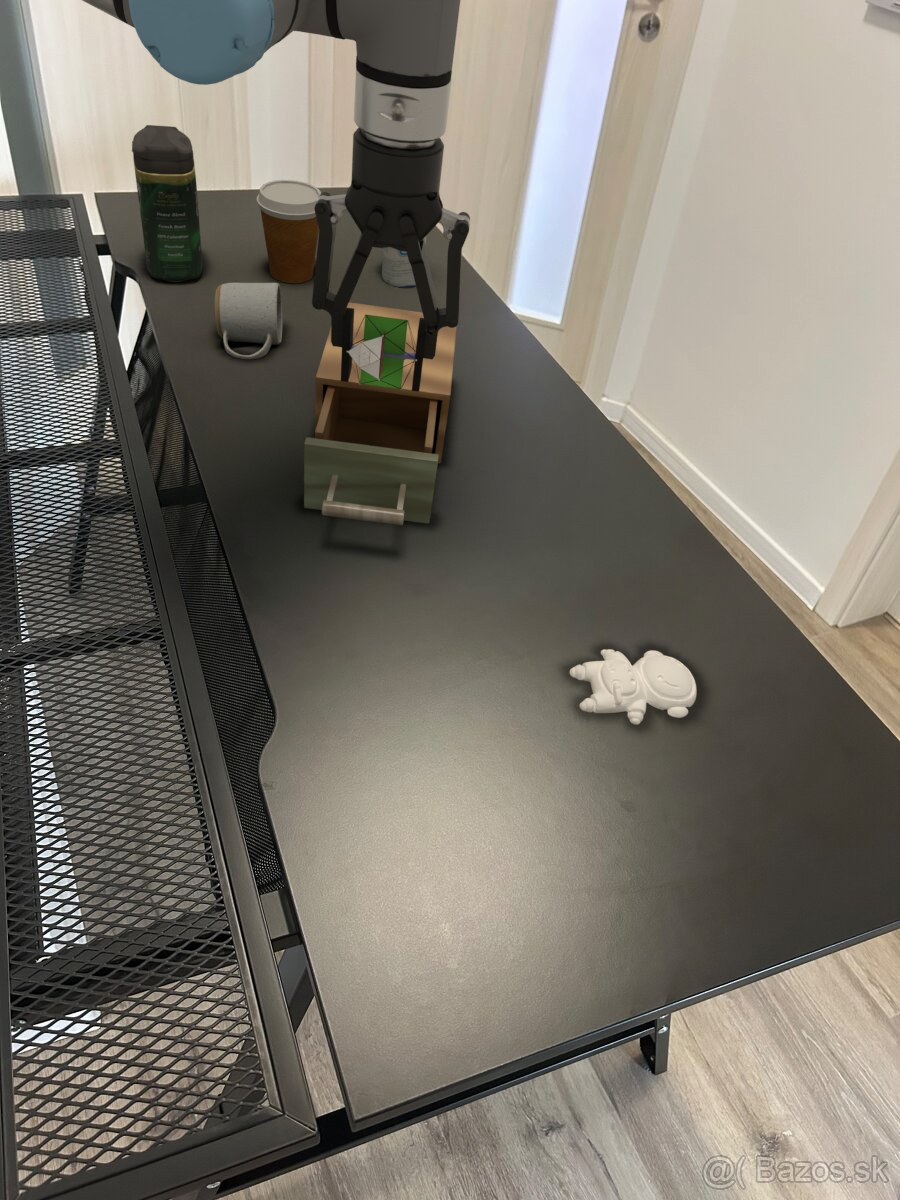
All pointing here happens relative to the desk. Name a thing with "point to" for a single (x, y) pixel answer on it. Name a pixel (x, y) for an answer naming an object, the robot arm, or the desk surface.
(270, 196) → the disposable coffee cup
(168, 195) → the coffee jar
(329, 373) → the cabinet
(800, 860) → the desk surface
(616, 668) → the astronaut figurine
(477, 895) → the desk surface
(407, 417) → the drawer
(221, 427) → the desk surface
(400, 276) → the spray paint can
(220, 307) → the ceramic mug
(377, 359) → the geometric puzzle
